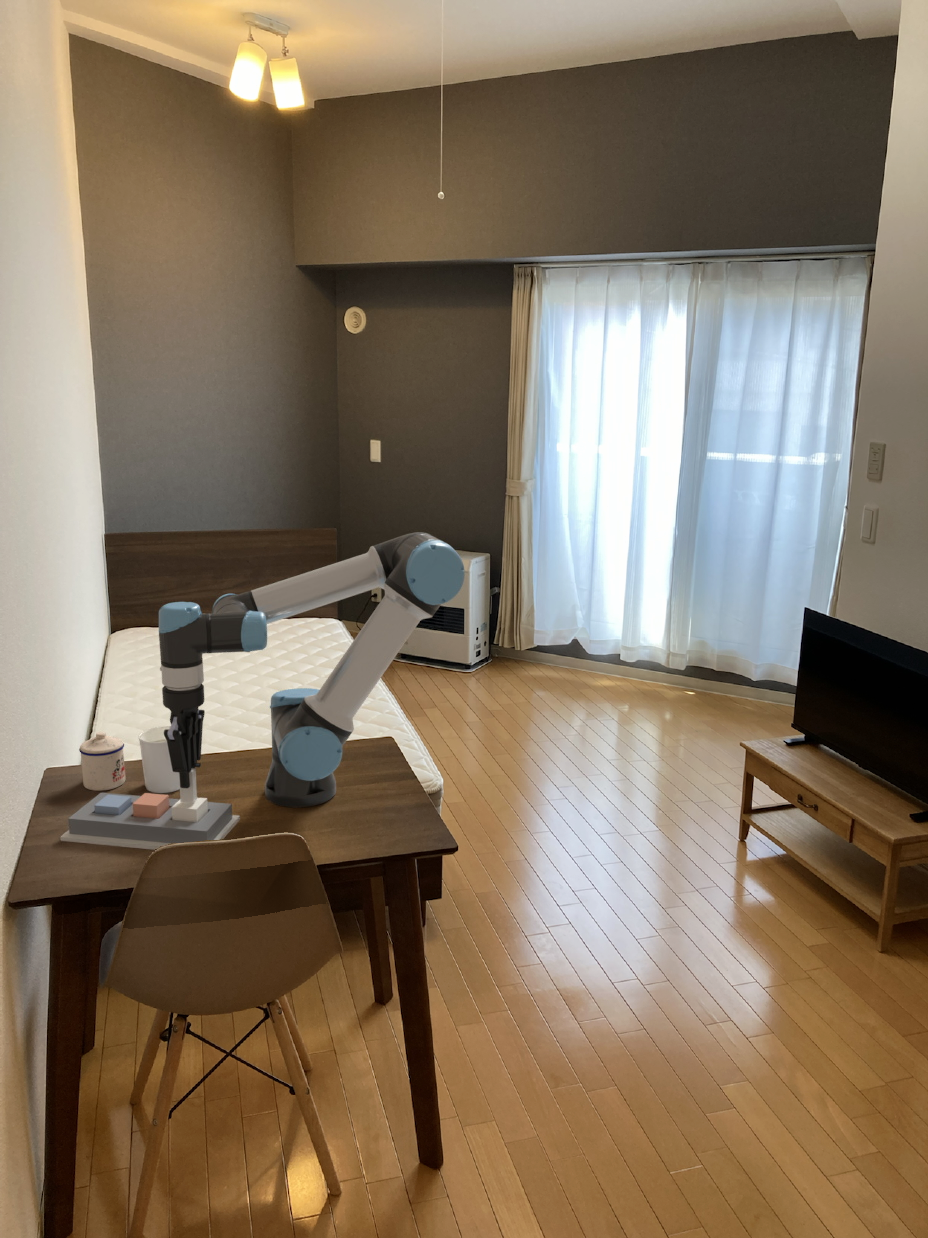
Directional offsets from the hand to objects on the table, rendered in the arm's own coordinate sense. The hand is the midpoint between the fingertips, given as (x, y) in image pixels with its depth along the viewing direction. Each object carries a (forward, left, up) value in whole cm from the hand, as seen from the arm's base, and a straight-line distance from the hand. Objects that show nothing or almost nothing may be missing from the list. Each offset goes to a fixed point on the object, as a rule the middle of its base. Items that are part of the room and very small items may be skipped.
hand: (188, 800), depth 180 cm
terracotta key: (+8, 0, -4) cm, 9 cm away
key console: (+8, 0, -7) cm, 11 cm away
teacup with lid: (+29, -20, -7) cm, 36 cm away
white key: (0, 0, -4) cm, 4 cm away
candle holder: (+15, -20, -7) cm, 26 cm away
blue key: (+16, 0, -5) cm, 16 cm away
